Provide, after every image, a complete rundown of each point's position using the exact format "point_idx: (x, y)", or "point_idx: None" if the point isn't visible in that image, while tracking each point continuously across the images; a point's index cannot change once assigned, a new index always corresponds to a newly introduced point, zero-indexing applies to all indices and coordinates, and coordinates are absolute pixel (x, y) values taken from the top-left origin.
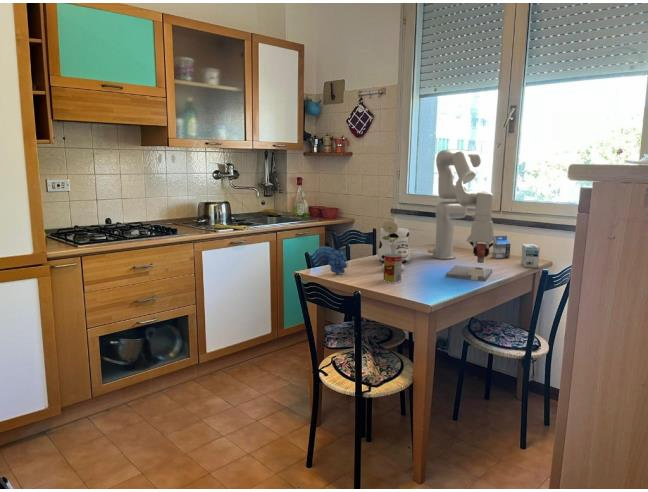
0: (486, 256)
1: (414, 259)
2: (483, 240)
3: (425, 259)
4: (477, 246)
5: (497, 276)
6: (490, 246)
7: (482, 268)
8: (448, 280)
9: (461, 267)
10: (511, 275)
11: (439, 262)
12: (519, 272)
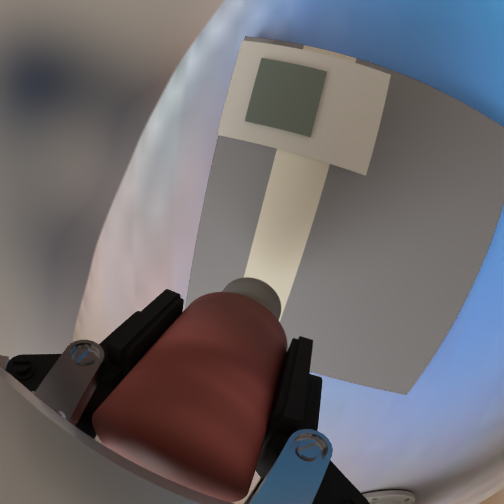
0: (167, 289)
1: (492, 460)
2: (46, 454)
3: (456, 473)
4: (248, 430)
5: (163, 204)
6: (53, 359)
7: (252, 91)
8: (484, 41)
9: (387, 350)
10: (101, 248)
11: (428, 456)
12: (83, 315)
